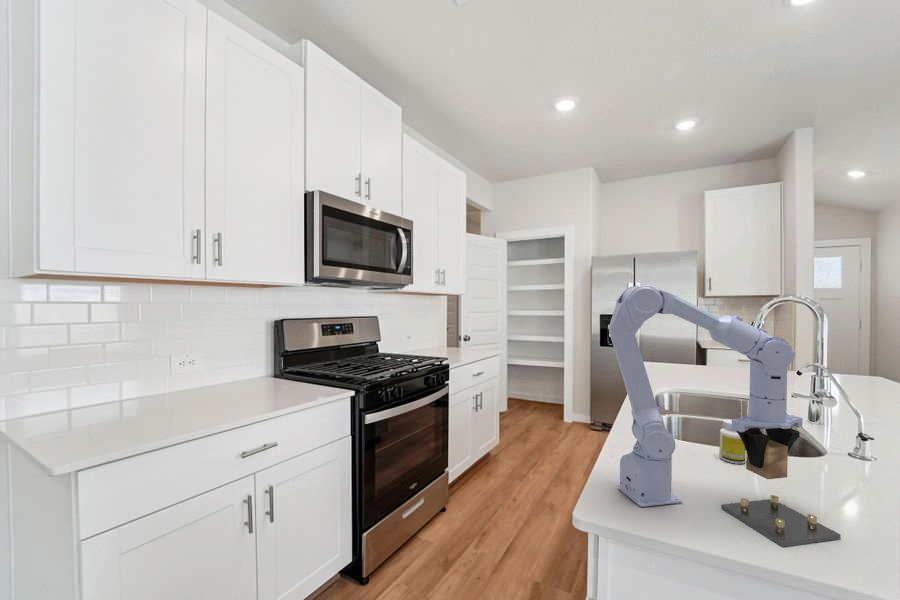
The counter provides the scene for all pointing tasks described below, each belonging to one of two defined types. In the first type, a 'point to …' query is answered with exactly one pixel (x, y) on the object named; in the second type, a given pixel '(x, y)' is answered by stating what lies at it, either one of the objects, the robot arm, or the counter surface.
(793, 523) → the plate
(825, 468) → the counter surface
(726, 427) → the supplement bottle
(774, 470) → the oak block
